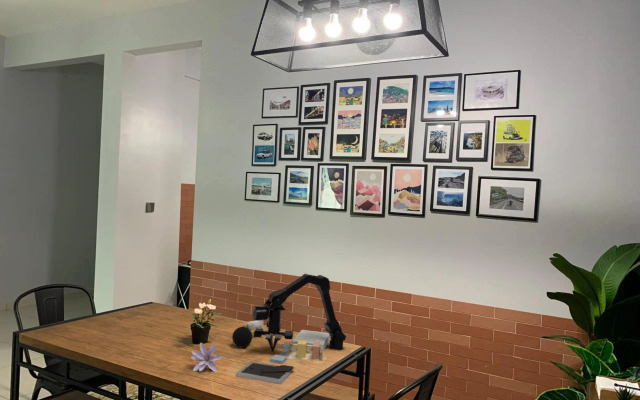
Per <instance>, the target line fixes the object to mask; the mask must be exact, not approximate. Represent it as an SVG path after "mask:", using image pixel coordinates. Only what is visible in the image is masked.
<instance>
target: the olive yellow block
mask: <svg viewBox="0 0 640 400" xmlns="http://www.w3.org/2000/svg"><path fill="white" fill-rule="evenodd" d="M306 347H307V341H304V340H299V341H298V347H297V358H305V357H306Z"/></svg>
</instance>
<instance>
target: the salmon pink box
mask: <svg viewBox="0 0 640 400" xmlns="http://www.w3.org/2000/svg"><path fill="white" fill-rule="evenodd" d="M319 351H320V342H314V344H313V358H312V359H319Z"/></svg>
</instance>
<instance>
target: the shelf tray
mask: <svg viewBox="0 0 640 400" xmlns="http://www.w3.org/2000/svg"><path fill="white" fill-rule="evenodd" d="M283 344H284V342H283V343H282V344H281V353H280V355H281V356H282V350H283ZM297 347H298V344H292V343H290V353H289V357H287V360H288V359H290V360H306V361H319V362H322V361H323V353H324V351H323V346H320V351H319V359H312V358H313V345H307V347H306V357H305V358H297Z"/></svg>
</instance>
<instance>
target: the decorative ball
mask: <svg viewBox="0 0 640 400" xmlns="http://www.w3.org/2000/svg"><path fill="white" fill-rule="evenodd" d="M231 339H232V343H233V344H234V345H235V346H237V347H238V348H245V347H248V346H249V345H250V344H251V343H252V341H253V332H252V330H251V331H250V329H248V328H247V327H243V326H239V327H237V328H235V329H234V331H233V333H232V338H231Z"/></svg>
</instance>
